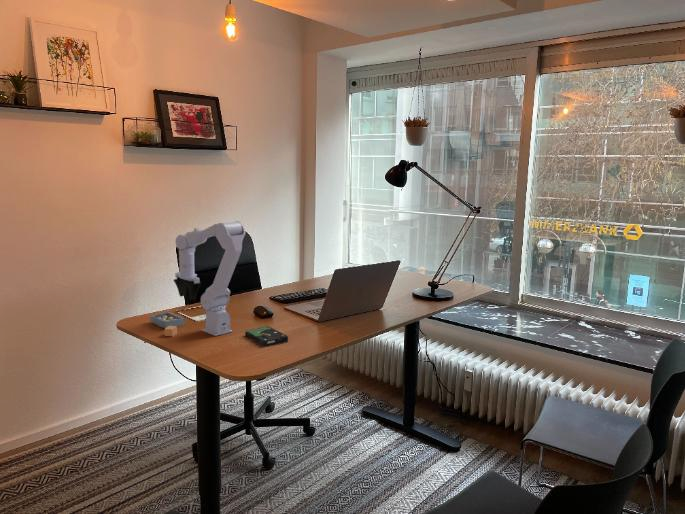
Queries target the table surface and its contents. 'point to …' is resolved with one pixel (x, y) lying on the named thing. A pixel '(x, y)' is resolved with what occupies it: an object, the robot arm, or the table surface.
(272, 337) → the disk drive
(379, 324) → the table surface
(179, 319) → the tub
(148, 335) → the table surface
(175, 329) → the lid
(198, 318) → the photo frame
